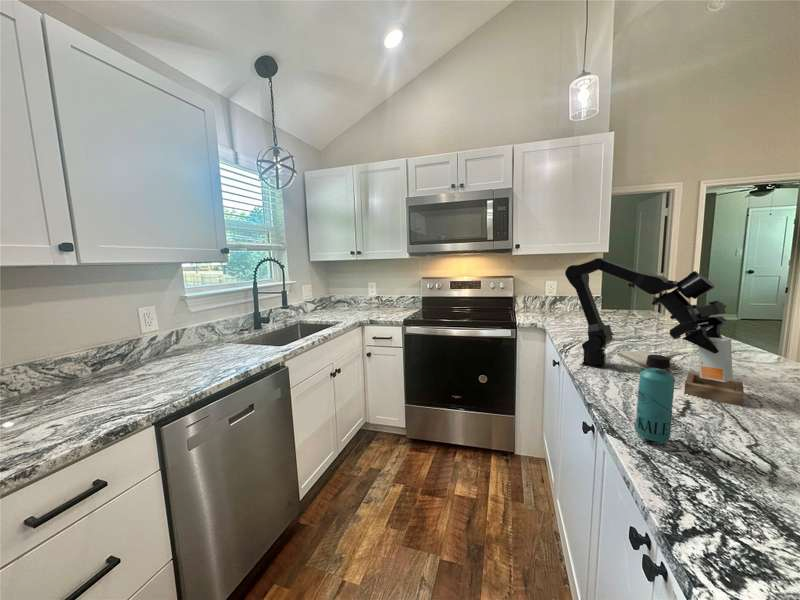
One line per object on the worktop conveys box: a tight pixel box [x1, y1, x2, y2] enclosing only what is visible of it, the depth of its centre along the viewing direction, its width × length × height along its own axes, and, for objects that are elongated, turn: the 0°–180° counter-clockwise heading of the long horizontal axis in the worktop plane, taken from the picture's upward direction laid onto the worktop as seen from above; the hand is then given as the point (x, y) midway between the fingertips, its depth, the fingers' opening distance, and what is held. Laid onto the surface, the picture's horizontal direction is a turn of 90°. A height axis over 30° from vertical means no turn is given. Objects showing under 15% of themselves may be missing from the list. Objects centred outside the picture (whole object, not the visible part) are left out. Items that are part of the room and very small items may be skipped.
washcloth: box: [616, 350, 679, 371], centre depth 125 cm, size 12×18×3 cm, turn 179°
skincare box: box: [697, 337, 734, 382], centre depth 94 cm, size 6×4×12 cm
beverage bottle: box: [634, 354, 676, 443], centre depth 72 cm, size 6×7×20 cm
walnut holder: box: [683, 371, 745, 407], centre depth 96 cm, size 12×12×4 cm
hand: (721, 351), depth 93 cm, fingers closed on skincare box, 4 cm apart
